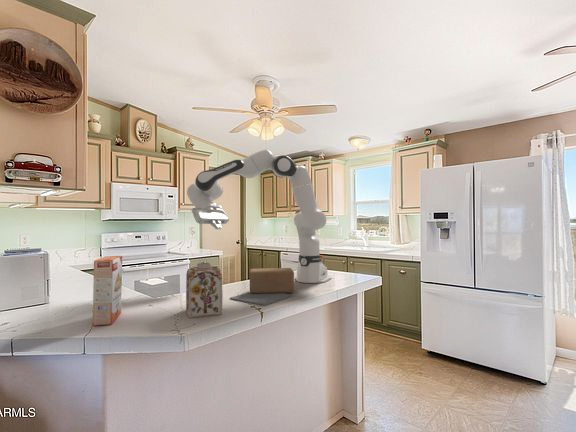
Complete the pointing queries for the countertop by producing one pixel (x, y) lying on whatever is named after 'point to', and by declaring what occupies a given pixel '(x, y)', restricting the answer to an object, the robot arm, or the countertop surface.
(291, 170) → the robot arm
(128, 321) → the countertop surface
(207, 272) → the decorative jar
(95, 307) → the cracker box
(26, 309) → the countertop surface
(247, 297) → the charcoal rubber mat
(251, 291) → the wooden block
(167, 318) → the countertop surface
